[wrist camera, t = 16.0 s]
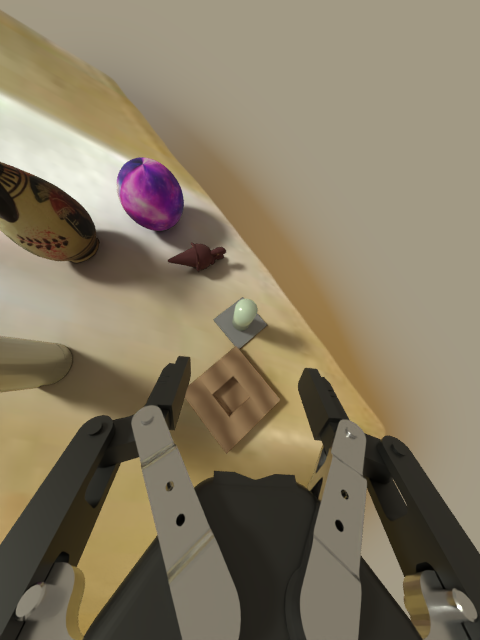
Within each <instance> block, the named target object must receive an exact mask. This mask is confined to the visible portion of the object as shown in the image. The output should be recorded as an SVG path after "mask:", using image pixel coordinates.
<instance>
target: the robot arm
mask: <svg viewBox="0 0 480 640" xmlns="http://www.w3.org/2000/svg"><path fill="white" fill-rule="evenodd" d="M71 364H72V355H71V352H70V350H69V349H68V348H67V347H66V346H64V345H61V344H57V343H49V342H42V341H35V340H27V339H20V338H12V337H5V336H0V392H8V391H16V390H24V389H33V388H38V387H39V386H41V385H49V384H53V383H55V382H57V381H59V380H61V379H62V378H63V377H64V376H65V375H66V374H67V373H68V371H69V369H70V367H71ZM190 376H191V364H190V357H184V356H178V358H177V360H176V363H175V364H173V363H169V364H168V365H167V366H166V367H165V368H164V369H163V370H162V373H161V375H160V377H159V379H158V381H157V383H156V385H155V387H154V389H153V391H152V393H151V395H150V397H149V399H148V401H147V403H146V405H145V406H144V407H143V408H141V409H140V410H139V411H137V412H136V414H134V415H132V416H129V417H125V418H121V419H116V420H112V419H111V418H110V417H109V416H105V415H102V416H97V417H94V418H92V419H90V420H89V421H87V422H86V423H85V424H83V425H82V427H81V428H80V429H79V430H78V432H77V433H76V435H75V436H74V438H73V439H72V441H71V442H70V444H69V445H68V446H67V448H66V449H65V451H64V452H63V454H62V455H61V457H60V458H59V460H58V461H57V463H56V464H55V466H54V467H53V468H52V470H51V471H50V473H49V474H48V476H47V477H46V479H45V480H44V482H43V483H42V485H41V486H40V487H39V489H38V490H37V492H36V493H35V495H34V496H33V498H32V499H31V501H30V502H29V504H28V505H27V507H26V508H25V509H24V511H23V512H22V514H21V515H20V517H19V518H18V520H17V521H16V523H15V524H14V526H13V527H12V529H11V530H10V531H9V533H8V534H7V536H6V537H5V539H4V540H3V542H2V543H1V545H0V640H480V554H479V552H478V551H477V549H476V548H475V546H474V545H473V543H472V542H471V540H470V539H469V538H468V536H467V535H466V533H465V531H464V530H463V529H462V527H461V526H460V525H459V523H458V521H457V519H456V518H455V516H454V515H453V514H452V512H451V511H450V509H449V508H448V506H447V505H446V503H445V502H444V500H443V499H442V497H441V496H440V494H439V493H438V491H437V490H436V488H435V487H434V485H433V484H432V482H431V481H430V479H429V478H428V476H427V475H426V473H425V472H424V471H423V469H422V467H421V466H420V464H419V463H418V461H417V460H416V459H415V457H414V455H413V454H412V452H411V451H410V450H409V448H408V447H407V446H406V445H405V444H404V443H403V442H401V441H400V440H398V439H397V438H395V437H392V436H384V437H383V438H382V439H381V440H380V439H378V438H375V437H373V436H370V435H367V434H365V433H364V432H363V431H362V429H361V428H360V427H359V426H358V425H357V424H355V423H354V422H352V421H350V420H349V418H348V416H347V414H346V413H345V411H344V409H343V407H342V405H341V403H340V401H339V399H338V398H337V396H336V394H335V392H334V390H333V388H332V386H331V384H330V383H329V382H328V381H327V380H326V379H325V378H324V377H321V376H320V374H319V372H318V370H317V369H312V368H305V369H304V371H303V373H302V375H301V378H300V380H299V383H298V391H299V394H300V397H301V400H302V403H303V406H304V409H305V412H306V415H307V418H308V421H309V425H310V428H311V431H312V434H313V437H314V440H321V441H322V443H323V446H322V448H321V451H320V454H319V457H318V460H317V463H316V466H315V470H314V473H313V476H312V478H311V480H310V482H309V484H308V486H307V488H305V487H304V486H302V485H301V484H299V483H297V482H296V480H295V475H281V474H274V475H271V476H268V477H264V478H261V479H258V480H254V479H251V478H248V477H246V476H243V475H241V474H238V473H236V472H224V471H214V477H212V478H208V479H206V480H204V481H202V482H201V483H199V484H198V485H197V486H196V487H193V485H192V482H191V480H190V477H189V475H188V472H187V470H186V467H185V465H184V462H183V460H182V457H181V455H180V452H179V450H178V448H177V446H176V444H174V442H173V439H172V437H171V434H170V432H169V430H175V428H176V424H177V421H178V418H179V415H180V411H181V408H182V405H183V401H184V398H185V395H186V391H187V388H188V385H189V381H190ZM137 457H140V461H141V468H142V472H143V477H144V481H145V485H146V489H147V493H148V497H149V501H150V505H151V510H152V514H153V518H154V522H155V526H156V530H157V534H158V535H157V536H156V538H155V539H154V540H153V542H152V543H151V544H150V546H149V547H148V548H147V550H146V551H145V552H144V554H143V555H142V556H141V558H140V559H139V560H138V562H137V563H136V564H135V566H134V567H133V568H132V570H131V571H130V572H129V574H128V575H127V576H126V578H125V579H124V581H123V582H122V583H121V585H120V586H119V587H118V589H117V590H116V591H115V593H114V594H113V595H112V597H111V598H110V599H109V601H108V602H107V603H106V605H105V606H104V607H103V609H102V610H101V611H100V613H99V614H98V615H97V617H96V618H95V620H94V621H93V623H92V624H91V626H90V627H89V629H88V631H87V632H86V634H85V636H83V635H82V633H81V631H80V629H79V624H78V615H79V608H80V604H81V601H82V597H83V594H84V589H85V577H84V574H83V572H82V570H80V569H79V568H77V565H78V562H79V560H80V558H81V555H82V553H83V551H84V548H85V546H86V544H87V541H88V539H89V537H90V534H91V532H92V529H93V527H94V525H95V522H96V520H97V518H98V515H99V513H100V511H101V508H102V506H103V504H104V501H105V499H106V497H107V494H108V492H109V489H110V487H111V485H112V482H113V480H114V478H115V475H116V473H117V471H118V468H119V466H120V464H121V462H124V461H128V460H131V459H134V458H137ZM393 479H394V481H395V483H396V485H397V487H398V489H399V490H400V492H401V494H402V496H403V498H404V500H405V502H406V504H407V506H406V504H405V502H404V500H403V498H402V497H401V495H400V493H399V491H398V489H397V487H396V485H395V483H394V481H393ZM367 488H368V491H369V493H370V496H371V498H372V501H373V503H374V505H375V508H376V510H377V513H378V515H379V517H380V519H381V522H382V524H383V527H384V529H385V531H386V534H387V536H388V538H389V541H390V544H391V546H392V548H393V551H394V553H395V555H396V558H397V560H398V562H399V565H400V567H401V570H402V572H403V575H404V577H405V578H404V581H403V590H404V595H405V596H404V604H405V607H406V609H407V611H408V613H409V615H410V618H411V620H410V619H409V618H408V616H407V615H406V614H405V612H404V611H403V610H402V609H401V607H400V606H399V605H398V603H397V602H396V601H395V599H394V598H393V597H392V596H391V594H390V593H389V592H388V590H387V589H386V588H385V586H384V585H383V584H382V583H381V581H380V580H379V579H378V577H377V576H376V575H375V573H374V572H373V571H372V569H371V568H370V567H369V565H368V564H367V563H366V562H365V560H364V559H363V558H362V556H361V545H362V534H363V523H364V512H365V501H366V490H367Z"/></svg>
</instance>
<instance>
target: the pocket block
mask: <svg viewBox="0 0 480 640" xmlns="http://www.w3.org/2000/svg"><path fill="white" fill-rule="evenodd" d="M185 398H186V400H187V401H188V403H189V404H190V405H191V407H192V408H193V409H194V411H195V412H196V413H197V415H198V416H199V417H200V419H201V420H202V422H203V423H204V424H205V426H206V427H207V428H208V430H209V431H210V432H211V434H212V435H213V436H214V438H215V439H216V441H217V442H218V443H219V445H220V446H221V447H222V449H223V450H224V451H225V453H226V454H227V453H228V452H229V451H230V450H231V449H232V448H233V447H234V446H235V445H236V444H237V443H238V442H239V441H240V440H241V439H242V438H243V437H244V436H245V435H246V434H247V433H248V432H249V431H250V430H251V429H252V428H253V427H254V426H255V425H256V424H257V423H258V422H259V421H260V420H261V419H262V418H263V417H264V416H265V415H266V414H267V413H268V412H269V411H270V410H271V409H272V408H273V407H274V406H275V405H276V404H277V403H278V402H279V401H280V398H279V397H278V396H277V395H276V394H275V392H274V391H273V390H272V389H271V388H270V386H269V385H268V384H267V383H266V382H265V380H264V379H263V378H262V377H261V375H260V374H259V373H258V372H257V371H256V369H255V368H254V367H253V366H252V365H251V363H250V362H249V361H248V360H247V358H246V357H245V356H244V355H243V354H242V352H241V351H240V350H239V349H238V348H237V346H235V347H234V348H233V349H232V350H231V351H229V352H228V353H227V354H226V355H225V356H223V357H222V358H221V359H220V360H219V361H217V362H216V363H215V364H214V365H213V366H211V367H210V368H209V369H208V370H207V371H205V372H204V373H203V374H202V375H201V376H199V377H198V378H197V379H196V380H195V381H193V382H192V383H191V384H190V385H189V386H188V388H187V391H186V395H185Z"/></svg>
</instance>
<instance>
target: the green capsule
mask: <svg viewBox="0 0 480 640" xmlns="http://www.w3.org/2000/svg"><path fill="white" fill-rule="evenodd" d="M256 314H257V306H256V304H255V303H254V302H253V301H252V300H250V299H242V300H240V301H239V302H238V303H237V304H236V306H235V311H234V316H233V321H232V324H233V327H234V328H235V329H236V330H238V331H244V330H246V329H247V328H248V326H249V325H250V324H251V322H252V321H253V319H254V318H255V316H256Z"/></svg>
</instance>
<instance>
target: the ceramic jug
mask: <svg viewBox="0 0 480 640" xmlns="http://www.w3.org/2000/svg"><path fill="white" fill-rule="evenodd" d="M0 230H1V231H2V232H3V233H4V234H5V235H6V236H7V237H9V238H10V239H11V240H12V241H14V242H15V243H16V244H18V245H19V246H21V247H22V248H23V249H25V250H27V251H29V252H31V253H32V254H34V255H37V256H39V257H42V258H46V259H50V260H54V261H72V262H74V263H78V262H81V261H85V260H87V259H89V258H90V257H91V256H93V255H94V254H95V253H96V251H97V249H98V247H99V243H100V242H99V239H98V238H97V237H96V230H95V225H94V223H93V221H92V219H91V217H90V215H89V214H88V212H87V211H86V210H85V209H84V208H83V207H82V206H81V205H80V204H79V203H78V202H77V201H76V200H75V199H73V198H72V197H71V196H69V195H68V194H67V193H66V192H64V191H63V190H61V189H60V188H58V187H57V186H55V185H53V184H51V183H49V182H47V181H45V180H43V179H41V178H39V177H37V176H34V175H32V174H30V173H28V172H25V171H23V170H20V169H18V168H15V167H13V166H10V165H7V164H5V163H1V162H0Z"/></svg>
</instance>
